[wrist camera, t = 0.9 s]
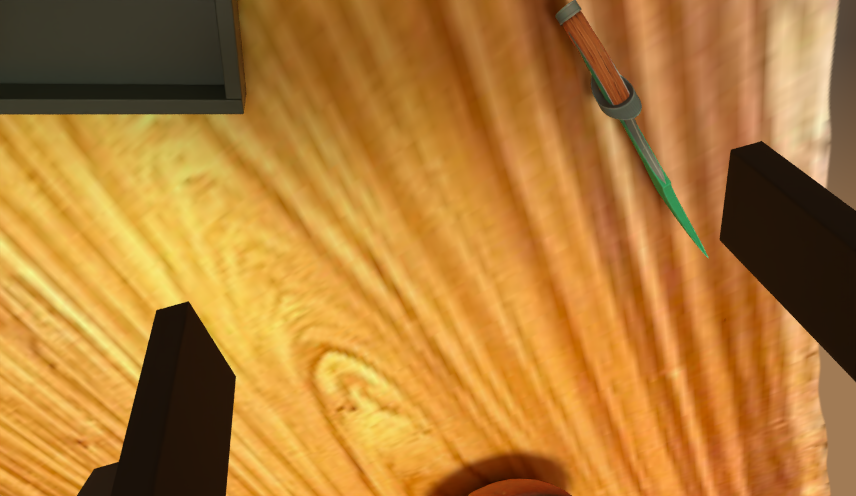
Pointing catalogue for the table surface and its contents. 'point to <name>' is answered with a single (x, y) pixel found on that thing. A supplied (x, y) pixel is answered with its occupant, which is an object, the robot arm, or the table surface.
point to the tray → (121, 57)
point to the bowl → (520, 489)
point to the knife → (619, 103)
